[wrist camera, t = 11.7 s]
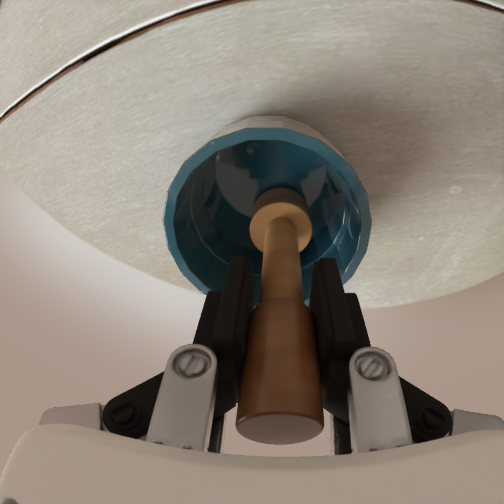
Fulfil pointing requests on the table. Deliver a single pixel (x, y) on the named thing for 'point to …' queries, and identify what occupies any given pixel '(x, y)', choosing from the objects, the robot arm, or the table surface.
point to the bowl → (248, 191)
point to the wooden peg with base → (281, 331)
